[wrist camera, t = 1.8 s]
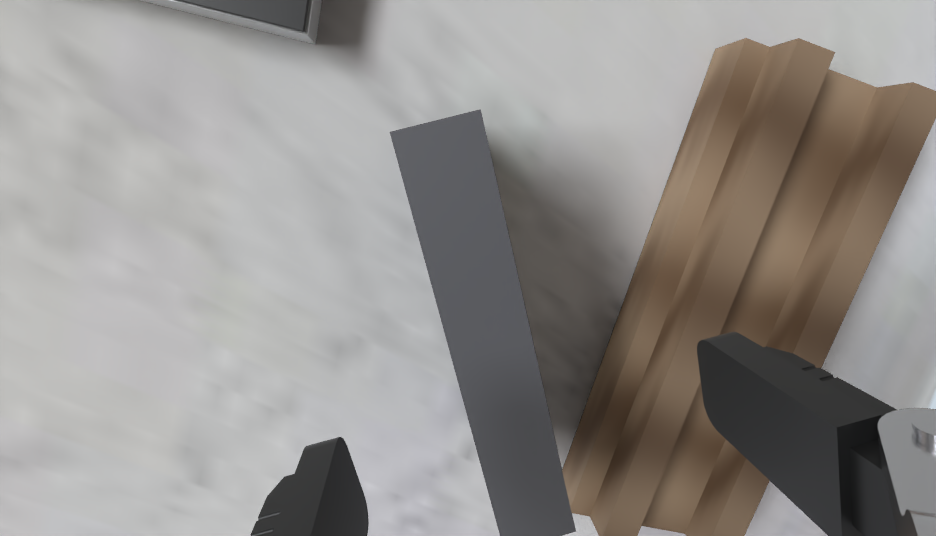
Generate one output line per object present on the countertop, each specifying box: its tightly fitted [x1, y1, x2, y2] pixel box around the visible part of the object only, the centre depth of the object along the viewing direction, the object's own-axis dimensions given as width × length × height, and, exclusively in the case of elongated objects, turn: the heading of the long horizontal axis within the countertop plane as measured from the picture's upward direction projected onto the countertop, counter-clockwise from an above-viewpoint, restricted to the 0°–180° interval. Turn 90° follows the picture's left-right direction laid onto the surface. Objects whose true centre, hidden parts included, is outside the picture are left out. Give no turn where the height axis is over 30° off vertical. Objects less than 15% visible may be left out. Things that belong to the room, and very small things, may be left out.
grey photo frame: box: [390, 109, 576, 536], centre depth 19 cm, size 14×2×8 cm, turn 14°
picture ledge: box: [562, 38, 936, 536], centre depth 22 cm, size 22×9×4 cm, turn 164°
